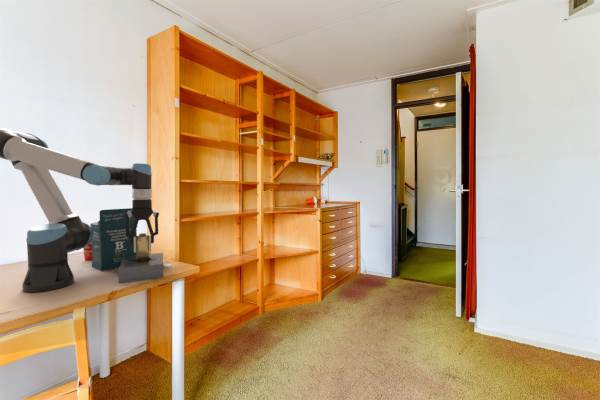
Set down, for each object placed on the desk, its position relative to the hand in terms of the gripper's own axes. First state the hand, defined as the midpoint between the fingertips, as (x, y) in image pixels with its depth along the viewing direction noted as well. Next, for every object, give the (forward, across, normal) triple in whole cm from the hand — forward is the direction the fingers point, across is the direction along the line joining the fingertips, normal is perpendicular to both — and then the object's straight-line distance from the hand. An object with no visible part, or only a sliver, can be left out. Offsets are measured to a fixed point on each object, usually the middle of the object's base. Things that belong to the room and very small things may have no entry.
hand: (142, 251), depth 129 cm
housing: (+10, 0, 0) cm, 10 cm away
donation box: (+10, -14, +22) cm, 28 cm away
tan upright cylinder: (+5, 0, 0) cm, 5 cm away
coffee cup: (+10, -26, +39) cm, 48 cm away
